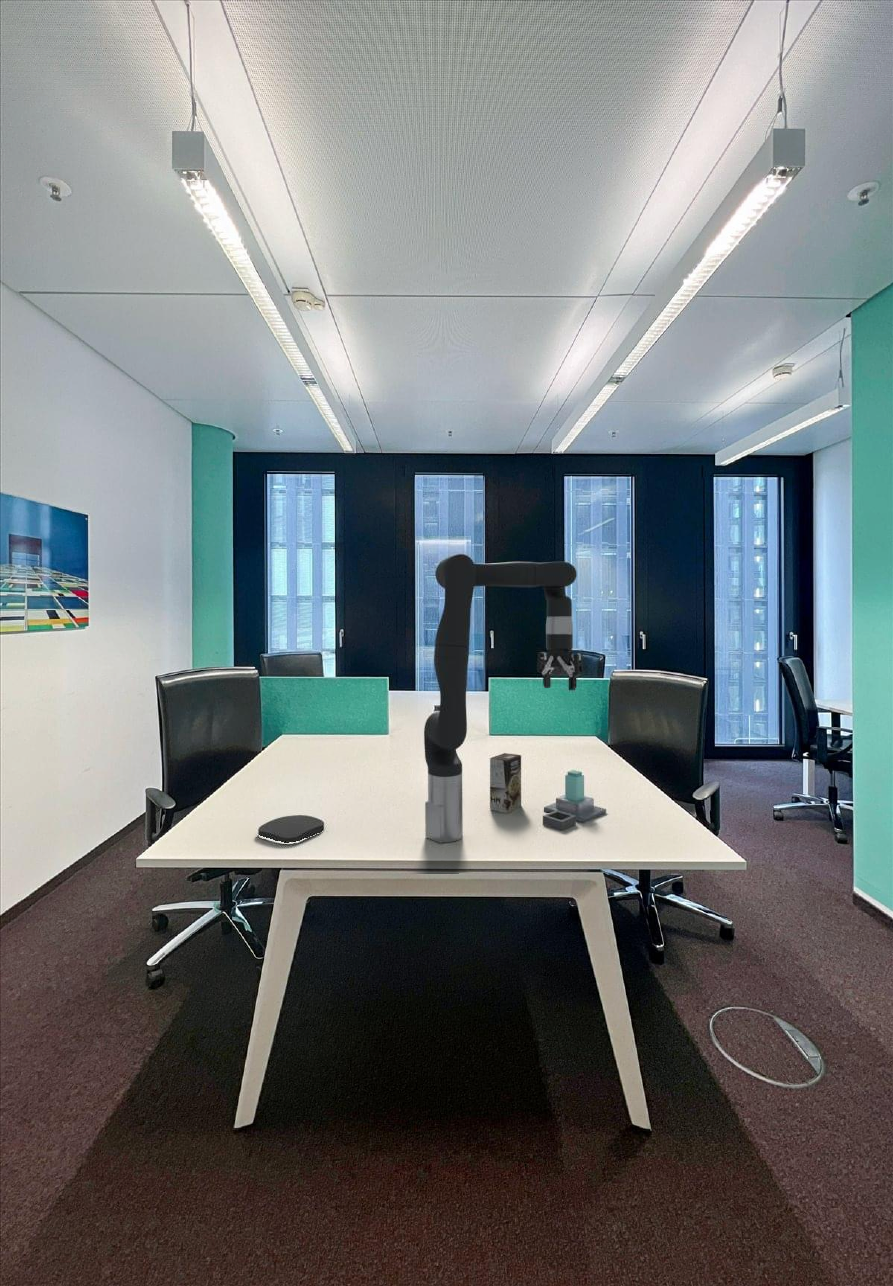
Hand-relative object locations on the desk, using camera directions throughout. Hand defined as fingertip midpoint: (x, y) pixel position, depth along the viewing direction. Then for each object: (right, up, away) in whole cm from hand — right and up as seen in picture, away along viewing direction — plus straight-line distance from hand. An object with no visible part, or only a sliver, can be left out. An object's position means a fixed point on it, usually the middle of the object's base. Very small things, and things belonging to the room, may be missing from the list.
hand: (559, 689), depth 155 cm
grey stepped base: (+6, -38, +8) cm, 39 cm away
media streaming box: (-75, -40, -7) cm, 85 cm away
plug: (+6, -37, +8) cm, 38 cm away
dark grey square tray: (-1, -38, -2) cm, 38 cm away
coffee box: (-14, -38, +12) cm, 42 cm away
